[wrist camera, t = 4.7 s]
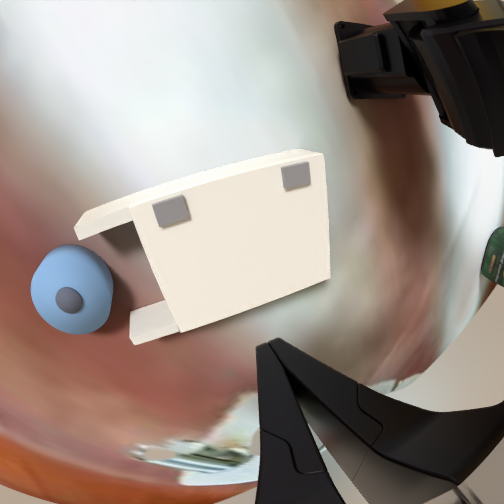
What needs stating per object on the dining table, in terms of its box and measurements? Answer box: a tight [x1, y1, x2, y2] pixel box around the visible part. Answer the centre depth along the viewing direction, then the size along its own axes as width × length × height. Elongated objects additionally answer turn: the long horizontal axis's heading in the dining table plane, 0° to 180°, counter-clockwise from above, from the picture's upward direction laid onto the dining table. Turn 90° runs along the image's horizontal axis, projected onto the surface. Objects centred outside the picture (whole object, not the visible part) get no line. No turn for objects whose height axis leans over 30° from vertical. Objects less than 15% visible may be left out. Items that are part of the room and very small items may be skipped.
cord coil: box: [31, 245, 113, 334], centre depth 17 cm, size 6×6×3 cm
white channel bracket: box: [74, 148, 316, 345], centre depth 18 cm, size 15×9×3 cm, turn 102°
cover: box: [129, 153, 330, 333], centre depth 17 cm, size 11×9×1 cm
